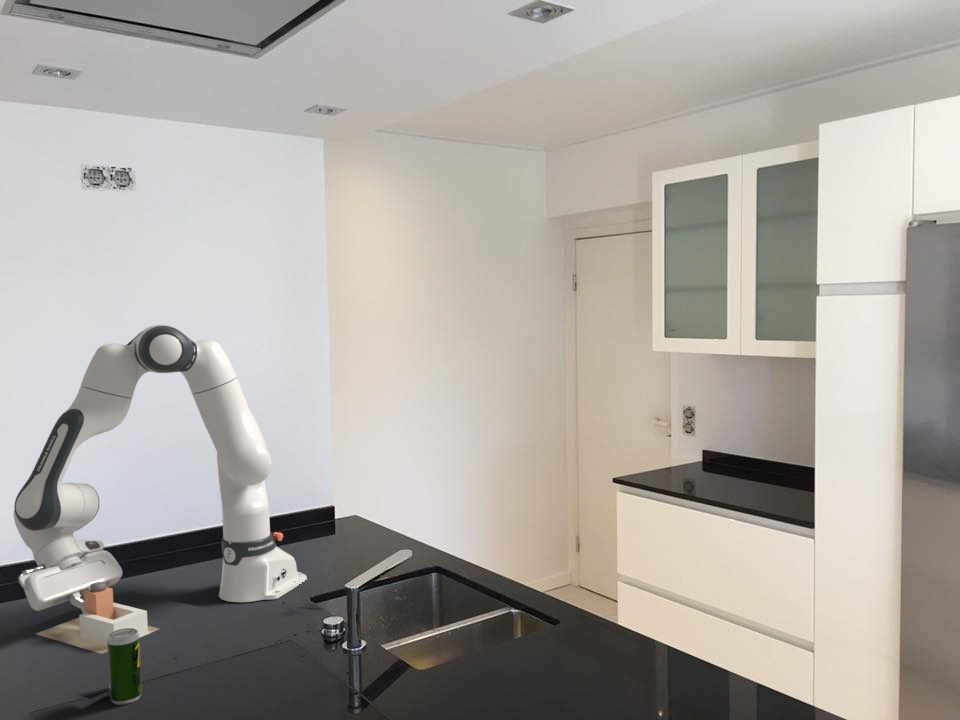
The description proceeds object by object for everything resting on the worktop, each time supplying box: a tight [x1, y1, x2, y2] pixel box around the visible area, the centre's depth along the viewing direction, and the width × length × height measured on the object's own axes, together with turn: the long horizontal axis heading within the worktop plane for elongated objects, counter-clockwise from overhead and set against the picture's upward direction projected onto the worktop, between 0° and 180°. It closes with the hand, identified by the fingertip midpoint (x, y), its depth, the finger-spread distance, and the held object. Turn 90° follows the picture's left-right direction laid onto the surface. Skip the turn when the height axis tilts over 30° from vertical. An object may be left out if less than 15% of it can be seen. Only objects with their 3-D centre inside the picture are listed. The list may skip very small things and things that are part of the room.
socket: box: [79, 601, 149, 646], centre depth 171 cm, size 8×11×5 cm
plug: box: [83, 582, 114, 620], centre depth 173 cm, size 4×4×10 cm
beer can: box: [107, 628, 143, 706], centre depth 146 cm, size 5×5×12 cm
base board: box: [35, 616, 160, 655], centre depth 174 cm, size 14×22×2 cm, turn 61°
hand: (92, 610), depth 175 cm, fingers closed, pressing on plug
